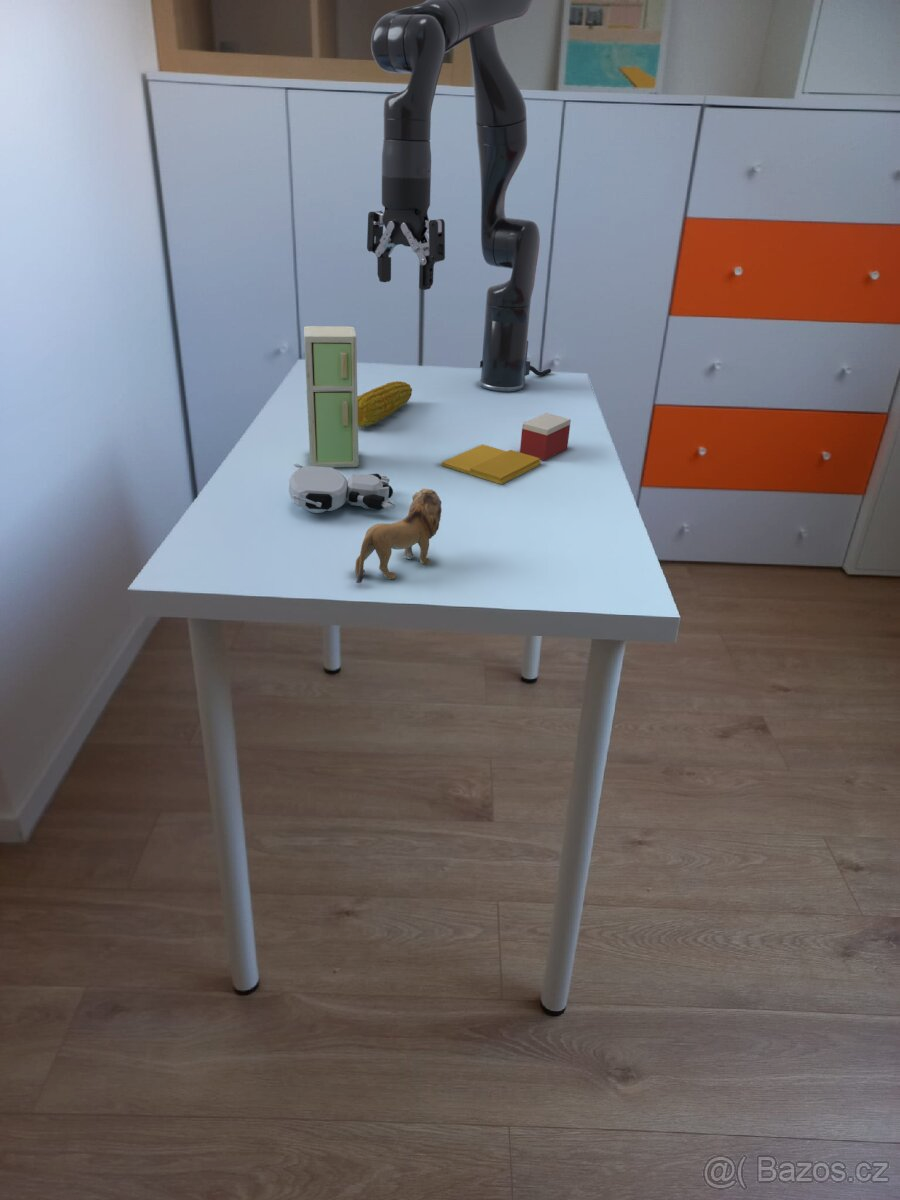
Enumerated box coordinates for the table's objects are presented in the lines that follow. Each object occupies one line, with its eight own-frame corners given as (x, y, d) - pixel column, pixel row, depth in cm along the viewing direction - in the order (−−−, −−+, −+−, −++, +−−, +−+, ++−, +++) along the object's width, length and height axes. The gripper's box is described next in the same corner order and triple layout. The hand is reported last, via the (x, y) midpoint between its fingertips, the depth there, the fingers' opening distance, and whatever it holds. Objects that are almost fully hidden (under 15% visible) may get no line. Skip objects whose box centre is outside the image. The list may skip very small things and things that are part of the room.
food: (372, 433, 149) (372, 401, 146) (344, 428, 151) (344, 396, 148) (417, 403, 167) (418, 373, 164) (391, 398, 168) (392, 369, 165)
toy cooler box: (543, 442, 150) (546, 412, 147) (567, 449, 147) (571, 419, 145) (519, 453, 144) (522, 423, 141) (544, 460, 142) (547, 429, 139)
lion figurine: (418, 542, 112) (420, 480, 108) (449, 554, 110) (453, 491, 105) (342, 580, 102) (341, 513, 98) (374, 595, 99) (374, 527, 95)
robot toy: (388, 493, 128) (289, 487, 126) (390, 465, 126) (290, 459, 123) (394, 527, 118) (287, 521, 115) (397, 498, 116) (288, 491, 113)
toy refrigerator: (309, 470, 133) (303, 336, 122) (308, 454, 139) (303, 325, 128) (359, 469, 134) (358, 337, 123) (356, 453, 140) (355, 326, 130)
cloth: (482, 447, 146) (482, 441, 145) (540, 464, 140) (541, 458, 139) (441, 465, 137) (441, 459, 137) (501, 484, 131) (502, 478, 131)
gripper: (458, 176, 126) (453, 289, 134) (387, 169, 133) (386, 276, 141) (427, 178, 120) (424, 295, 129) (355, 170, 128) (356, 281, 136)
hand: (404, 285), depth 135 cm, fingers open, 8 cm apart
